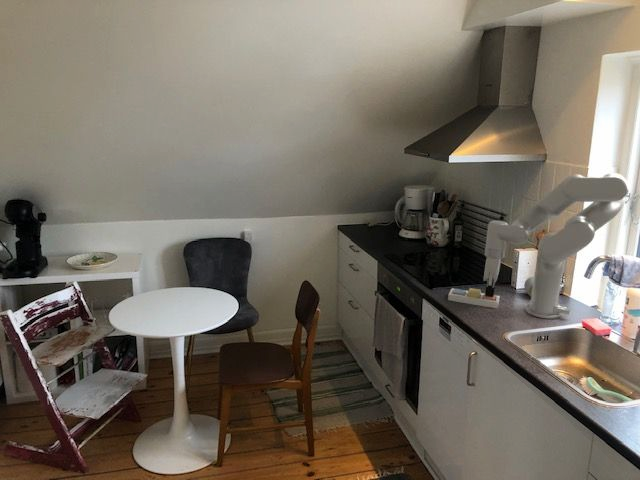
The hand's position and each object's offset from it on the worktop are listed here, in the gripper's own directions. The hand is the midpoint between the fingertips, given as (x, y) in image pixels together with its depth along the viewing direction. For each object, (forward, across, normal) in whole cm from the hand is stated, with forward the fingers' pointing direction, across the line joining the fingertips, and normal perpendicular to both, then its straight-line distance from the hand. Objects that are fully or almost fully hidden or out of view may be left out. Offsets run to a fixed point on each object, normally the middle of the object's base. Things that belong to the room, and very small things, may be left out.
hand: (489, 295), depth 204 cm
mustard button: (+2, 0, -6) cm, 6 cm away
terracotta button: (+3, 0, 0) cm, 3 cm away
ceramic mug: (+3, -18, +18) cm, 26 cm away
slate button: (+3, 0, -12) cm, 12 cm away
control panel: (+3, 0, -6) cm, 7 cm away
